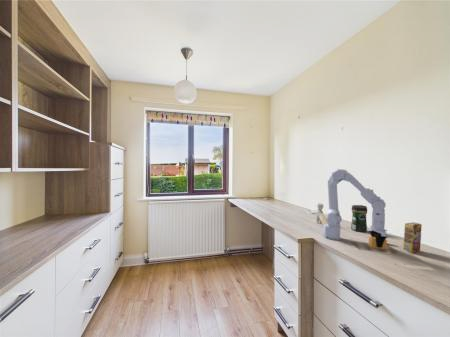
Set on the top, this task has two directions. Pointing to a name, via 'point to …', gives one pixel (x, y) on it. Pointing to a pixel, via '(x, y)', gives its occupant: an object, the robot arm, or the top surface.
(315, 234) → the top surface
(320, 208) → the hammer
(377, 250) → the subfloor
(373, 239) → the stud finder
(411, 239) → the candy box
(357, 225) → the coffee jar
